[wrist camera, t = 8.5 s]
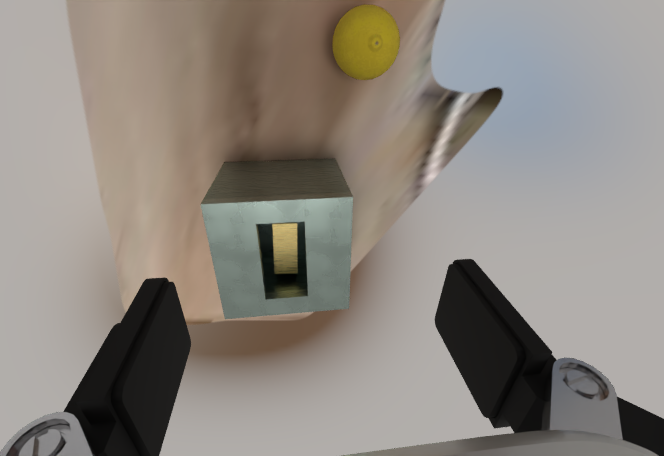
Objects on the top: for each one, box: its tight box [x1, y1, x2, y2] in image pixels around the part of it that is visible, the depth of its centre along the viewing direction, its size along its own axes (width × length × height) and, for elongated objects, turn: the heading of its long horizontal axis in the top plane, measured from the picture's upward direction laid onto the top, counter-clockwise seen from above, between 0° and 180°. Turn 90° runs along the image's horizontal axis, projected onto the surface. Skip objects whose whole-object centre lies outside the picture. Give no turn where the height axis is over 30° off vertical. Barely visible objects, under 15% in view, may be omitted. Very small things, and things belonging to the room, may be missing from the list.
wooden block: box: [272, 222, 297, 274], centre depth 35 cm, size 6×2×6 cm
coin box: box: [201, 159, 353, 319], centre depth 33 cm, size 12×12×11 cm
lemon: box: [332, 5, 400, 80], centre depth 27 cm, size 6×6×8 cm
